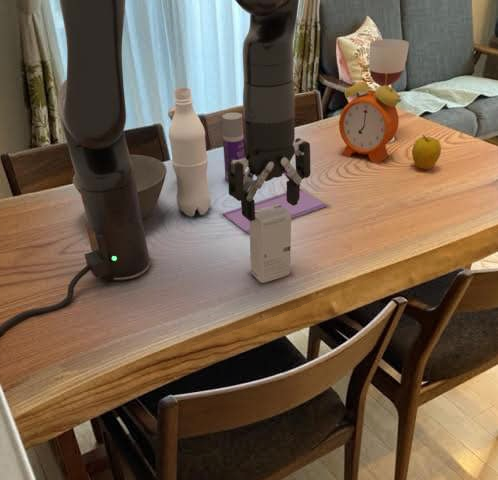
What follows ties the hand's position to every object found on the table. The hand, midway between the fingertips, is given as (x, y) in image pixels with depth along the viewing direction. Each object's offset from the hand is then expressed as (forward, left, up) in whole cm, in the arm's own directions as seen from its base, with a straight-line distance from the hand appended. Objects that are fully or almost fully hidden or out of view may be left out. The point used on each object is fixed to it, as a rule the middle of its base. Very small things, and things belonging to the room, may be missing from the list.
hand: (271, 211), depth 89 cm
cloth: (+14, +19, -12) cm, 26 cm away
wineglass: (+60, +37, -12) cm, 71 cm away
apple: (+55, +16, -12) cm, 58 cm away
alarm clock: (+49, +30, -12) cm, 58 cm away
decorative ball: (+26, +46, -12) cm, 54 cm away
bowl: (-13, +35, -12) cm, 39 cm away
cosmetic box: (0, 0, -12) cm, 12 cm away
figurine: (+5, +41, -12) cm, 43 cm away
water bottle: (0, +29, -12) cm, 31 cm away
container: (+15, +37, -12) cm, 42 cm away
